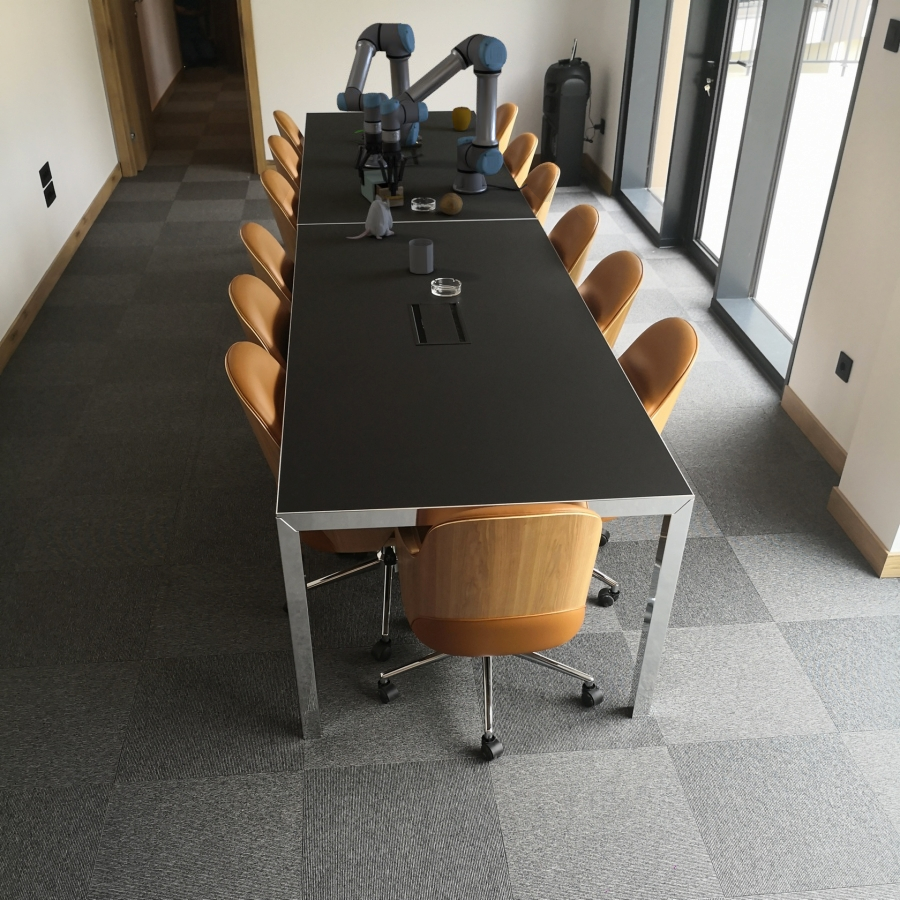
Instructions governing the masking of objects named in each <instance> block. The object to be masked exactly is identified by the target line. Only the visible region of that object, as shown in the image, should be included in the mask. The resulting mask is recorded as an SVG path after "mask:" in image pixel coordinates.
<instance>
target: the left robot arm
mask: <svg viewBox="0 0 900 900" xmlns="http://www.w3.org/2000/svg"><path fill="white" fill-rule="evenodd" d="M415 38H416V37H415V34H414V30H413V28H412V26H411V25H410V24H409V23H402V22H386V23H385V22H375V23H372V24H370V25H369V26H367V27H365V29H364V30H362V32H361V33H360V35H359V36H358V38H357V39H356V43H355V46H354V49H355V55H354V58H353V62H352V65H351V68H350V71H349V75H348V79H347V82H346V86H345V89H344V90H345V91H343V92H339V93H337V96H336V106H337V109H338V110H339V111H340V112H347V113H363V117H364V118H363V130H364V131H363V134H364V140H363V141H364V143H365V145H361V144H358V148H357V149H358V150H357V154H356V157H355V162H354V164H353V168H354V169H355V170H357V172H358V173H357V174H358V178H360V185H361V184H362V185H363V186H365V183H364V171H365V170H364V168H366V169H371V170H381V169H380V166H379V164H378V162H377V161H376V160H377V159H379V158H381V157H382V152H383V151H382V142H383V140H382V129H381V128H382V127H381V114H380V106H381V102H382V101H383V100H386V99H390V98H389V96H388V95H387V94H386V93H384V92H366V93H363V92H364V89H365V85H366V81H367V78H368V75H369V72H370V68H371V65H372V60H373V58H374V57H376V55H377V53H378V52H382V53H383V52H384V53H385V58H386V59H387V60H388V61H389V71H390V84H391V85H390V86H391V98H392V97H393V96H400V95H401V94H402V93H403V92H405V91H406V90H407V89H408V88H410V87H411V82H410V67H409V65H410V64H409V63H410V62H409V60H410V59H411V57H412V53H414V52H415V48H416V45H415V44H416V39H415ZM419 132H420V122H419V123H418V122H417V123H408V124H400V140H399V141H400V142H401V146H402V145H403V146H413V145H415V144H416V142H417V141H418V138H419ZM420 156H423V153H417V154H414V155H410V156H406V157H407V158H408V159H413V158H416V157H420ZM399 161H401V158H400V160H399ZM383 165H384V168H385V169H387V163H386V162H385V161H384V159H383ZM392 175H393V164H392Z"/></svg>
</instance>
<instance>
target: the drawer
mask: <svg viewBox="0 0 900 900" xmlns="http://www.w3.org/2000/svg"><path fill="white" fill-rule="evenodd" d="M376 195H378V196H379V197H380V198H381V200H382V202H386V203H387V200H389V207H390V208H391V207H399V206H404V199H405V198H404V187H403V186H399V185H398V191H396V196H392V197H391V191H389V189H388V183H380V184H375V200H376Z"/></svg>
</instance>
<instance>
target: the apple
mask: <svg viewBox="0 0 900 900" xmlns="http://www.w3.org/2000/svg"><path fill="white" fill-rule="evenodd" d="M451 121H452V125H453V128H454V129H455V131H457V132H463V131H466V130H467V129H468V128H469V126H470V124H471V121H472V111H471V108H469V107H467V106H462V105H461V106H457V107H454V108H452V111H451Z"/></svg>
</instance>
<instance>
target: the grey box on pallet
mask: <svg viewBox="0 0 900 900" xmlns="http://www.w3.org/2000/svg"><path fill="white" fill-rule="evenodd" d="M385 172H386V175H387V168H385ZM387 179H388V176H387ZM392 182H394V177H393V174H392ZM364 183H365V186H363V185H362V184H361V183H360V186H361V188H360V189H361V195H362V196H364V198H366V199H367V201H369V202H370V203H371V204H372V202H373V201H375V184H380V183H386V182H385V181H384V180H383V176H382V173H381V169H372V170H364Z"/></svg>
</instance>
